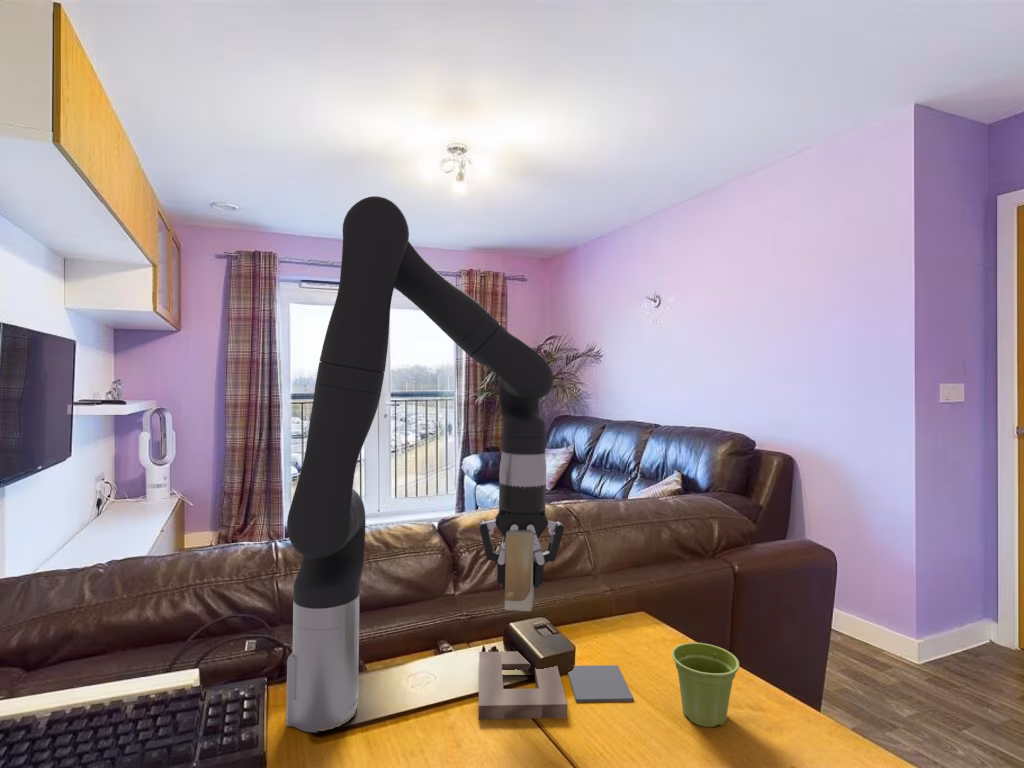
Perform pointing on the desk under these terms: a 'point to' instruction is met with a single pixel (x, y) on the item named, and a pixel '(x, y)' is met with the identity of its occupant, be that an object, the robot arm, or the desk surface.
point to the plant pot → (705, 681)
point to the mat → (599, 684)
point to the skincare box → (519, 571)
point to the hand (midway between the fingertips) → (519, 585)
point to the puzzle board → (518, 690)
